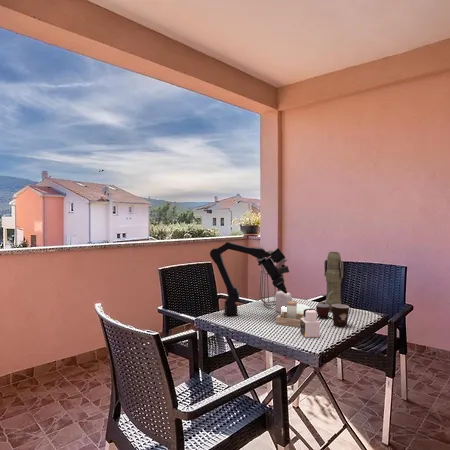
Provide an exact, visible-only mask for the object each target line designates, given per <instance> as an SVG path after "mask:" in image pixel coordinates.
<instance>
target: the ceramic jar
mask: <svg viewBox="0 0 450 450" xmlns="http://www.w3.org/2000/svg"><path fill="white" fill-rule="evenodd" d="M297 304H298V302H297V301H295V300H292V301H287V318H288V319H297V313H298V310H297V308H298V307H297Z"/></svg>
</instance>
